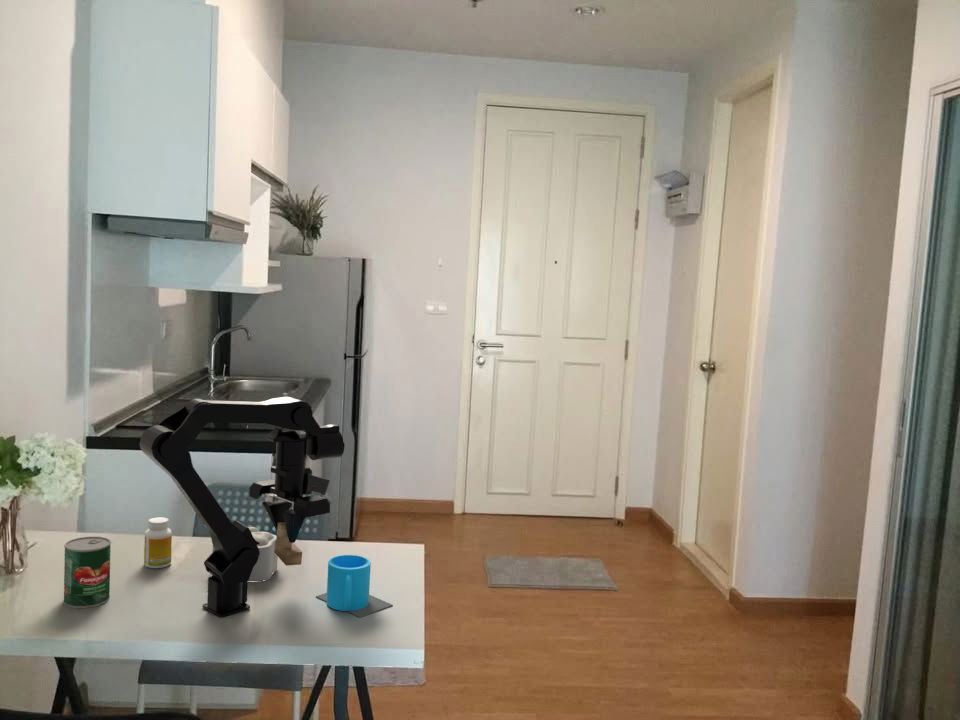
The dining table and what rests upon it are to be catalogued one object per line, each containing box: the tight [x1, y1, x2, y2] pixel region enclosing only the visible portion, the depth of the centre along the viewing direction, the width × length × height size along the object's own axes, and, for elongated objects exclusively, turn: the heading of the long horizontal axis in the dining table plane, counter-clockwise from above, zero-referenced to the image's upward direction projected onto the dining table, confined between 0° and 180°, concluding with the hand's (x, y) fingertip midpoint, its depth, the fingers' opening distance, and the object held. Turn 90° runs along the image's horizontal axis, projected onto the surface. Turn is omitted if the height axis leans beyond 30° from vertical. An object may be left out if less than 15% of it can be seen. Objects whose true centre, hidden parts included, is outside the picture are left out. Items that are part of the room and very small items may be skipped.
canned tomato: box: [63, 536, 112, 609], centre depth 157 cm, size 8×8×11 cm
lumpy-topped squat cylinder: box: [212, 526, 279, 582], centre depth 176 cm, size 10×13×9 cm
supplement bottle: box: [143, 516, 173, 569], centre depth 178 cm, size 5×5×10 cm
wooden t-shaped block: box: [274, 522, 303, 566], centre depth 164 cm, size 4×8×7 cm, turn 30°
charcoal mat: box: [315, 592, 393, 618], centre depth 165 cm, size 8×13×1 cm, turn 49°
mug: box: [325, 554, 372, 612], centre depth 161 cm, size 12×8×8 cm
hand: (287, 540), depth 165 cm, fingers closed on wooden t-shaped block, 3 cm apart
